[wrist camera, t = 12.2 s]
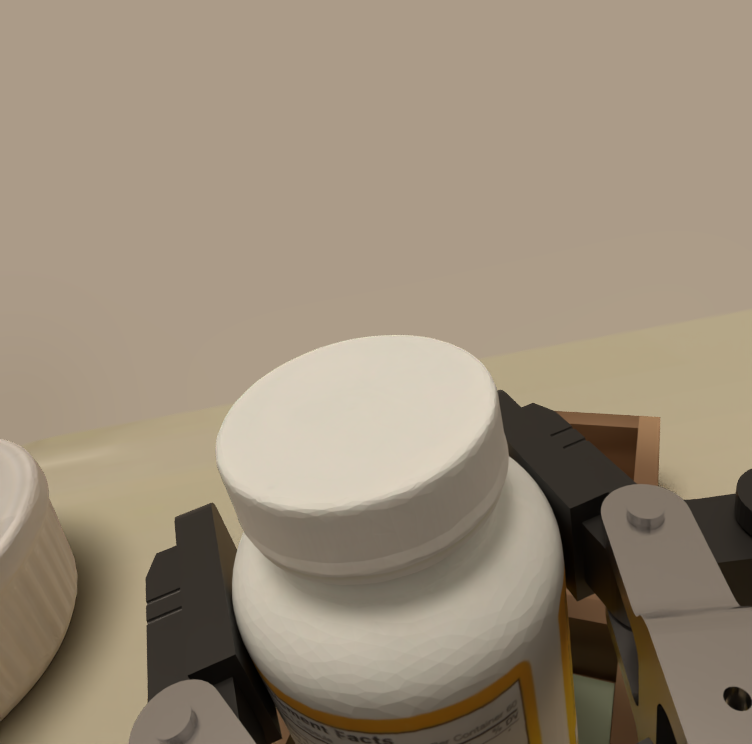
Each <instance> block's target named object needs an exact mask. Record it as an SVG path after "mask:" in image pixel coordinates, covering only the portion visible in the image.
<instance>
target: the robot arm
mask: <svg viewBox="0 0 752 744" xmlns="http://www.w3.org/2000/svg"><path fill="white" fill-rule="evenodd" d="M497 392H498V397H499V403H500V410H501V416H502V423H503V429H504V434H505V436H506V441H507V445H508V453H509V457H511V458H512V459H513V460H515V461H516V462H517V463H518V464H519V465H520V466H521V467H522V468H523V469H524V470H525V471H526V472H527V473H528V474H529V475H530V476H531V477H532V478H533V479H534V481H535V482H536V483H537V484H538V486H539V487H540V489H541V490H542V492H543V493H544V495H545V496H546V498H547V500H548V502H549V504H550V506H551V508H552V510H553V513H554V516H555V518H556V521H557V524H558V527H559V532H560V536H561V541H562V548H563V557H564V566H565V577H566V588H567V589H568V590H569V592H570V593H571V594H572V595H573V597H574V598H575V599H576V601H577V602H578V601H580V600H582V599H584V598H586V597H588V596H590V595H593V594H596V595H597V596H598V598H599V599H600V600H601V601H602V602H603V604H604V605H605V617H606V622H607V625H608V629H609V632H610V636H611V639H612V643H613V646H614V650H615V653H616V657H617V660H618V664H619V667H620V670H621V674H622V677H623V681H624V684H625V688H626V691H627V695H628V698H629V702H630V705H631V709H632V712H633V716H634V720H635V724H636V729H637V735H638V743H636V744H752V469H750V470H748V471H747V472H745V473H744V474H743V475H742V476H741V477H740V478H739V480H738V483H737V488H736V494H730V495H723V496H716V497H709V498H702V499H692V500H683V499H682V498H681V497H679V496H678V495H677V494H675V493H673V492H672V491H670V490H667V489H665V488H662V487H659V486H655V485H649V484H637V483H635V482H634V481H633V480H632V479H631V478H630V477H629V476H628V475H626V474H625V473H624V472H623V471H622V470H621V469H620V468H619V467H617V466H616V465H615V464H614V463H613V462H612V461H611V460H610V459H608V458H607V457H606V456H605V455H604V454H603V453H602V452H601V451H599V450H598V449H597V448H596V447H595V446H594V445H593V444H592V443H591V442H589V441H586V439H585V437H584V436H583V435H582V434H580V433H579V432H578V431H577V430H576V429H573V428H572V426H571V425H570V424H569V423H568V422H567V421H566V420H565V419H564V418H562V417H561V416H560V415H559V414H558V413H557V412H555V411H553V410H550V409H548V408H545V407H543V406H540V405H537V404H535V403H532V404H529V405H527V406H524V407H522V408H521V407H520V406H519V405H518V404H517V403H516V402H515V401H514V400H513V399H512V398H511V397H510V396H509V395H508V394H507V393H506V392H504V391H503V390H498V391H497ZM175 532H176V544H177V546H174V547H172V548H169V549H167V550H164V551H162V552H159V553H157V554H156V556H155V558H154V560H153V563H152V565H151V567H150V569H149V572H148V574H147V576H146V602H147V606H146V620H147V623H148V625H147V671H148V704H147V705H146V706H145V707H144V708H143V710H142V711H141V713H140V714H139V715H138V717H137V719H136V721H135V723H134V725H133V728H132V731H131V734H130V738H129V744H272V743H274V742H276V741H278V740H280V739H282V734H281V730H280V725H279V720H278V715H277V711H276V706H275V704H274V702H273V700H272V698H271V696H270V694H269V692H268V690H267V688H266V686H265V685H264V683H263V681H262V679H261V677H260V675H259V673H258V671H257V669H256V668H255V666H254V663H253V661H252V659H251V657H250V655H249V653H248V651H247V649H246V647H245V645H244V643H243V640H242V637H241V634H240V632H239V629H238V626H237V623H236V618H235V613H234V609H233V602H232V577H233V568H234V562H235V557H236V553H237V549H236V547H235V545H234V543H233V541H232V538H231V536H230V534H229V532H228V530H227V528H226V526H225V524H224V522H223V520H222V518H221V516H220V514H219V512H218V510H217V508H216V506H215V505H214V503H210V504H207V505H205V506H202V507H200V508H197V509H195V510H192V511H189V512H187V513H184V514H182V515H179V516H177V517H175Z"/></svg>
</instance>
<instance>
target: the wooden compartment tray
mask: <svg viewBox="0 0 752 744" xmlns="http://www.w3.org/2000/svg"><path fill="white" fill-rule="evenodd" d="M555 412H557V413H558V414H559V415H560V416H561V417H562V418H564V419H565V420H566V421H567V422H568V423H569V424H570V425H571V426H572V428H573V429H576V430H577V431H578V432H579V433H580V434H582V435H583V436H584V437H585V439H586V441H589V442H591V443H592V444H593V445H594V446H595V447H596V448H597V449H598V450H599V451H601V452H602V453H603V454H604V455H605V456H606V457H607V458H608V459H610V460H611V461H612V462H613V463H614V464H615V465H616V466H617V467H619V468H620V469H621V470H622V471H623V472H624V473H625V474H626V475H628V476H629V477H630V478H631V479H632V480H633V481H634V482H635V483H637V484H649V485H655V486H658V473H659V441H660V417H648V416H630V415H613V414H596V413H579V412H562V411H555ZM566 593H567V606H568V620H569V631H570V645H571V658H572V671H573V683H574V696H575V707H576V716H577V729H578V743H579V744H636V743H638V735H637V729H636V724H635V720H634V716H633V712H632V709H631V705H630V702H629V698H628V695H627V691H626V688H625V684H624V681H623V677H622V674H621V670H620V667H619V664H618V660H617V657H616V653H615V650H614V646H613V643H612V639H611V636H610V632H609V629H608V625H607V622H606V617H605V605H604V604H603V602H602V601H601V600H600V599H599V598H598V596H597V595H596V594H593V595H590V596H588V597H586V598H584V599H582V600H580V601H578V602H577V601H576V599H575V598H574V597H573V595H572V594H571V593H570V592H569V590H568V589H567V588H566ZM276 711H277V715H278V720H279V725H280V730H281V734H282V739H280V740H278V741H276V742H274V743H272V744H295V742H294V740H293V738H292V737H291V735H290V733H289V731H288V729H287V727H286V725H285V723H284V721H283V719H282V718H281V716H280V714H279V712H278V710H277V708H276Z"/></svg>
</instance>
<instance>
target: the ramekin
mask: <svg viewBox="0 0 752 744" xmlns="http://www.w3.org/2000/svg"><path fill="white" fill-rule="evenodd" d="M77 579H78V573H77V569H76V563H75V559H74V556H73V553H72V551H71V548H70V546H69V543H68V541H67V538H66V536H65V534H64V531H63V529H62V527H61V524H60V522H59V519H58V517H57V515H56V512H55V510H54V508H53V506H52V503H51V501H50V499H49V489H48V483H47V480H46V477H45V474H44V472H43V471H42V469H41V468H40V466H39V465H38V463H37V462H36V461H35V459H34V458H33V457H32V456H31V454H30V453H29V452H28V451H27V450H26V449H24V448H23V447H21V446H19V445H18V444H16V443H13V442H11V441H8V440H5V439H0V721H1V720H2V719H3V718H5V717H6V716H7V715H8V714H9V713H10V712H11V710H12V709H13V708H14V707H15V706H16V705H17V704H18V703H19V702H20V701H21V700H22V699H23V698H24V696H25V695H26V694H27V693H28V692H29V691H30V690H31V688H32V687H33V686H34V685H35V683H36V682H37V681H38V680H39V678H40V677H41V676H42V674H43V673H44V672H45V670H46V669H47V667H48V666H49V664H50V663H51V661H52V660H53V658H54V656H55V654H56V653H57V651H58V649H59V647H60V645H61V643H62V641H63V639H64V637H65V634H66V632H67V630H68V627H69V624H70V621H71V617H72V613H73V609H74V606H75V599H76V596H77Z"/></svg>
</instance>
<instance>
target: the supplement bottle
mask: <svg viewBox="0 0 752 744" xmlns="http://www.w3.org/2000/svg"><path fill="white" fill-rule="evenodd" d="M216 461H217V468H218V470H219V473H220V475H221V478H222V480H223V483H224V485H225V487H226V490H227V492H228V495H229V497H230V499H231V502H232V504H233V506H234V509H235V511H236V513H237V517H238V520H239V523H240V525H241V527H242V529H243V531H244V532H243V534H242V537H241V540H240V543H239V546H238V549H237V553H236V557H235V562H234V568H233V577H232V602H233V609H234V613H235V618H236V623H237V626H238V629H239V632H240V634H241V637H242V640H243V643H244V645H245V647H246V649H247V651H248V653H249V655H250V657H251V659H252V661H253V663H254V666H255V668H256V669H257V671H258V673H259V675H260V677H261V679H262V681H263V683H264V685H265V686H266V688H267V690H268V692H269V694H270V696H271V698H272V700H273V702H274V704H275V706H276V708H277V710H278V712H279V714H280V716H281V718H282V719H283V721H284V723H285V725H286V727H287V729H288V731H289V733H290V735H291V737H292V738H293V740H294V742H295V744H579V743H578V729H577V716H576V707H575V696H574V683H573V671H572V658H571V645H570V631H569V620H568V606H567V593H566V577H565V566H564V557H563V548H562V541H561V536H560V532H559V527H558V524H557V521H556V518H555V516H554V513H553V510H552V508H551V506H550V504H549V502H548V500H547V498H546V496H545V495H544V493H543V492H542V490H541V489H540V487H539V486H538V484H537V483H536V482H535V481H534V479H533V478H532V477H531V476H530V475H529V474H528V473H527V472H526V471H525V470H524V469H523V468H522V467H521V466H520V465H519V464H518V463H517V462H516V461H515V460H513V459H512V458H511V457H509V453H508V445H507V441H506V436H505V434H504V429H503V423H502V416H501V410H500V403H499V397H498V392H497V388H496V385H495V383H494V381H493V379H492V376H491V374H490V373H489V371H488V370H487V369H486V367H485V366H484V365H483V364H482V362H481V361H479V360H478V359H477V358H475V357H474V356H473V355H472V354H470V353H469V352H467V351H465V350H463V349H462V348H460V347H457V346H454V345H452V344H450V343H447V342H443V341H440V340H437V339H433V338H427V337H421V336H410V335H383V336H370V337H362V338H356V339H351V340H346V341H341V342H338V343H334V344H331V345H328V346H324V347H321V348H318V349H315V350H313V351H310V352H308V353H306V354H303V355H301V356H299V357H297V358H295V359H293V360H290V361H289V362H287V363H285V364H283V365H281V366H279V367H277V368H276V369H274V370H272V371H271V372H270V373H268V374H267V375H265V376H264V377H263V378H261V379H259V380H258V381H257V382H256V383H255V384H253V385H252V386H251V387H250V388H249V389H248V390H247V391H246V392H245V393H244V394H243V395H242V396H241V397H240V398H239V399H238V400H237V401H236V402H235V403H234V405H233V406H232V407H231V409H230V410H229V412H228V414H227V415H226V417H225V419H224V421H223V423H222V426H221V428H220V431H219V433H218V436H217V440H216Z"/></svg>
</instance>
